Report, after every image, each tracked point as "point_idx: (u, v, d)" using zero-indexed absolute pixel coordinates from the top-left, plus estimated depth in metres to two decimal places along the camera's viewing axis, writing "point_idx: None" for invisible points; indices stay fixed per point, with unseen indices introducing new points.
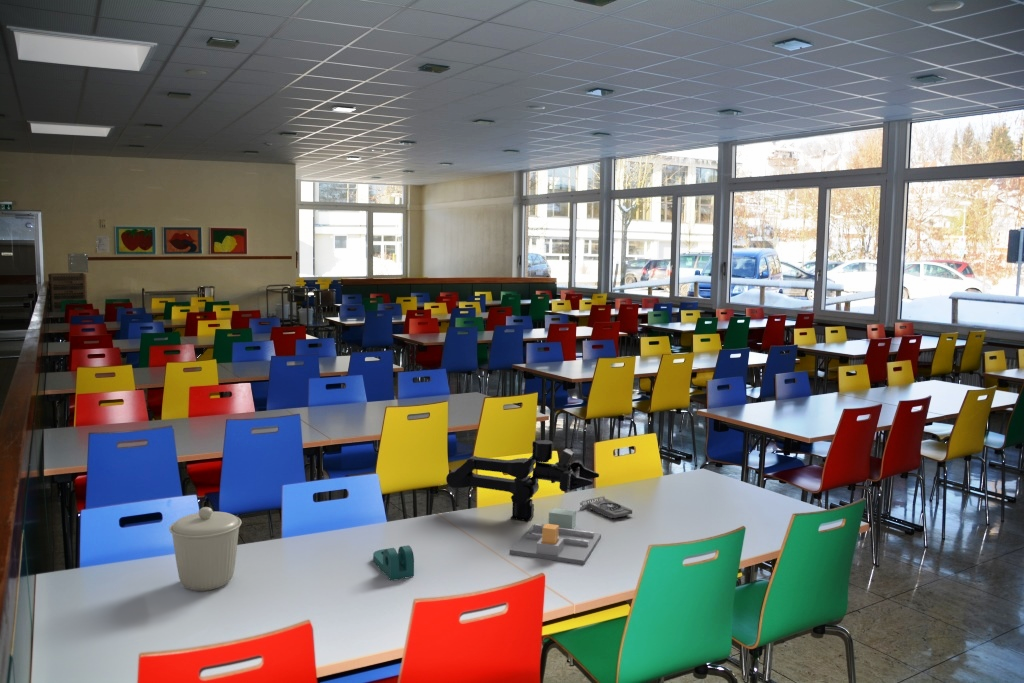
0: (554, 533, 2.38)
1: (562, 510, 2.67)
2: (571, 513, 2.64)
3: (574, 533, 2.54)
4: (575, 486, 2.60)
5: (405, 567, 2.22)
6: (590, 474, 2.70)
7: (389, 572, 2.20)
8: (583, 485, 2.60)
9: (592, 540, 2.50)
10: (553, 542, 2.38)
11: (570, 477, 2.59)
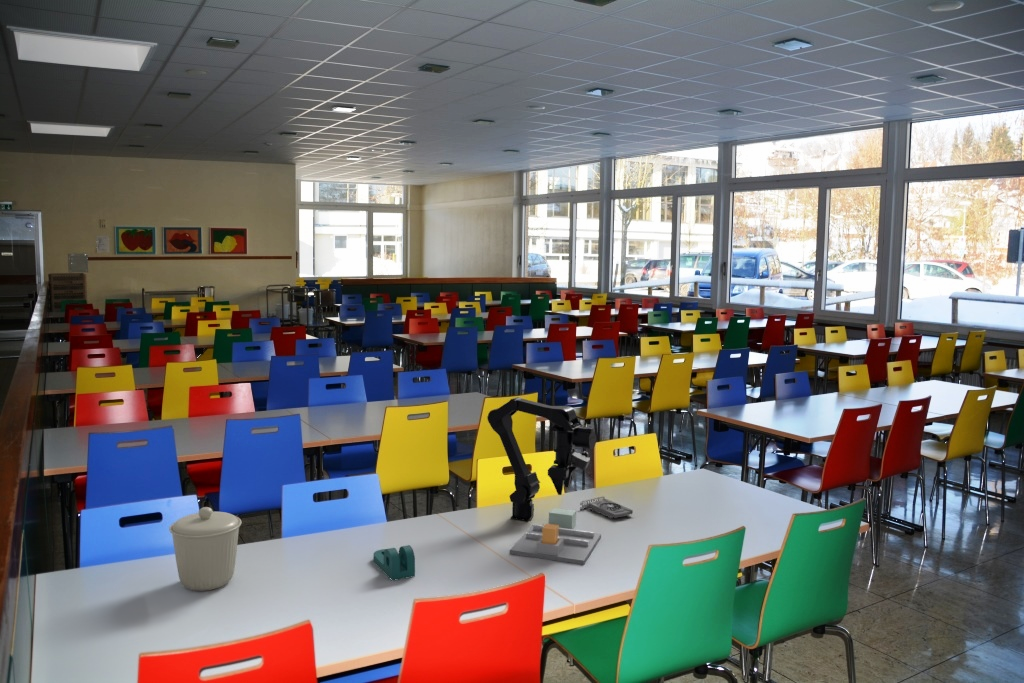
0: (554, 533, 2.38)
1: (562, 510, 2.67)
2: (571, 513, 2.64)
3: (574, 533, 2.54)
4: (553, 479, 2.59)
5: (406, 567, 2.22)
6: (566, 478, 2.69)
7: (390, 572, 2.20)
8: (555, 486, 2.60)
9: (592, 540, 2.50)
10: (553, 542, 2.38)
11: (562, 477, 2.56)
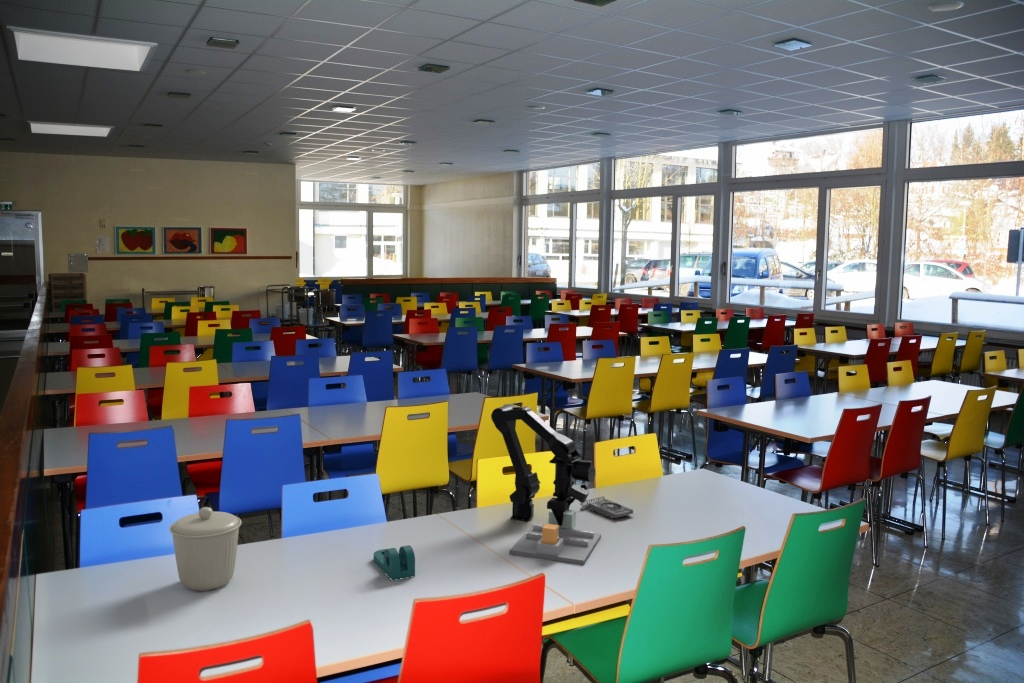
0: (554, 533, 2.38)
1: None
2: (571, 513, 2.64)
3: (574, 533, 2.54)
4: (554, 510, 2.62)
5: (406, 567, 2.22)
6: None
7: (390, 572, 2.20)
8: (556, 517, 2.63)
9: (592, 540, 2.50)
10: (553, 542, 2.38)
11: None
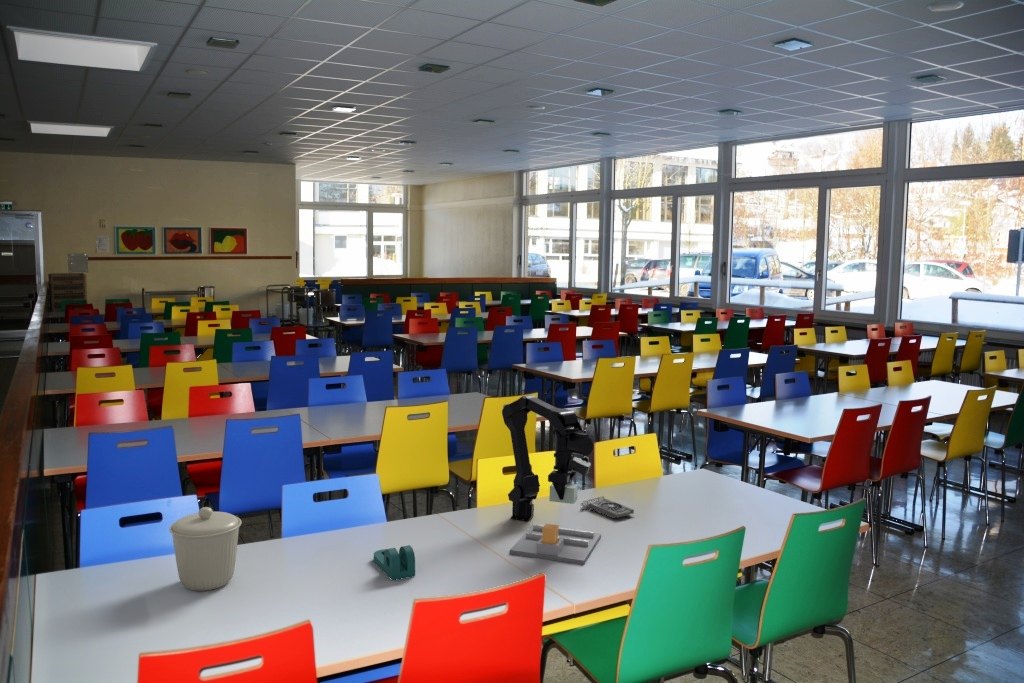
0: (554, 533, 2.38)
1: None
2: (573, 486, 2.55)
3: (574, 533, 2.54)
4: (555, 484, 2.53)
5: (406, 567, 2.22)
6: None
7: (390, 572, 2.20)
8: (557, 491, 2.54)
9: (592, 540, 2.50)
10: (553, 542, 2.38)
11: None
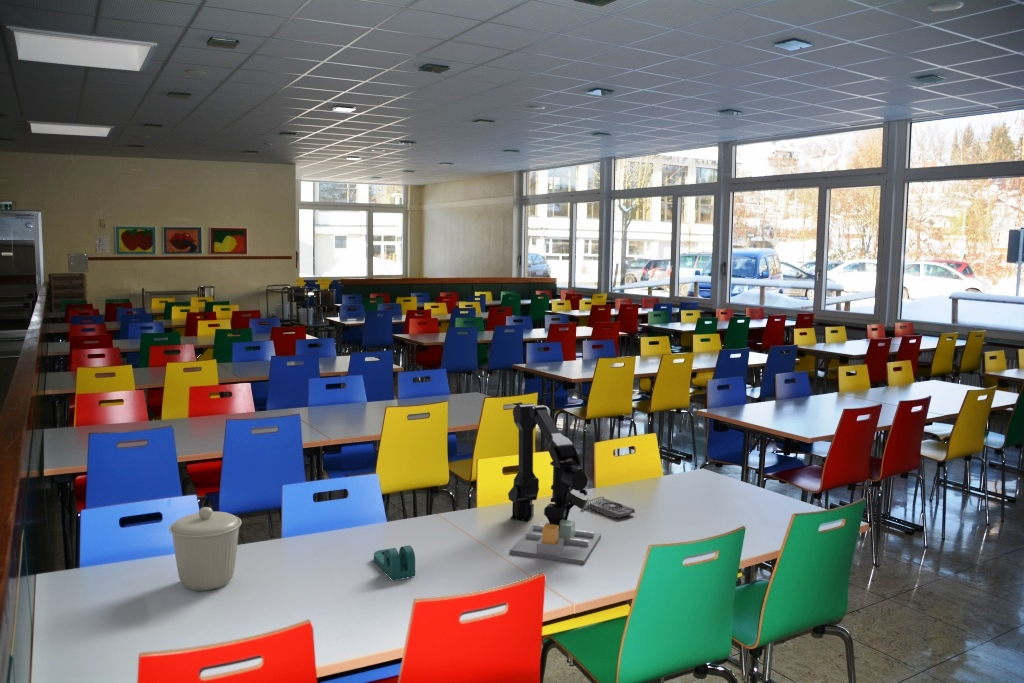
0: (554, 533, 2.38)
1: None
2: (570, 524, 2.50)
3: None
4: (550, 519, 2.46)
5: (406, 567, 2.22)
6: (564, 516, 2.56)
7: (390, 572, 2.20)
8: None
9: (592, 540, 2.50)
10: (553, 542, 2.38)
11: (559, 517, 2.43)
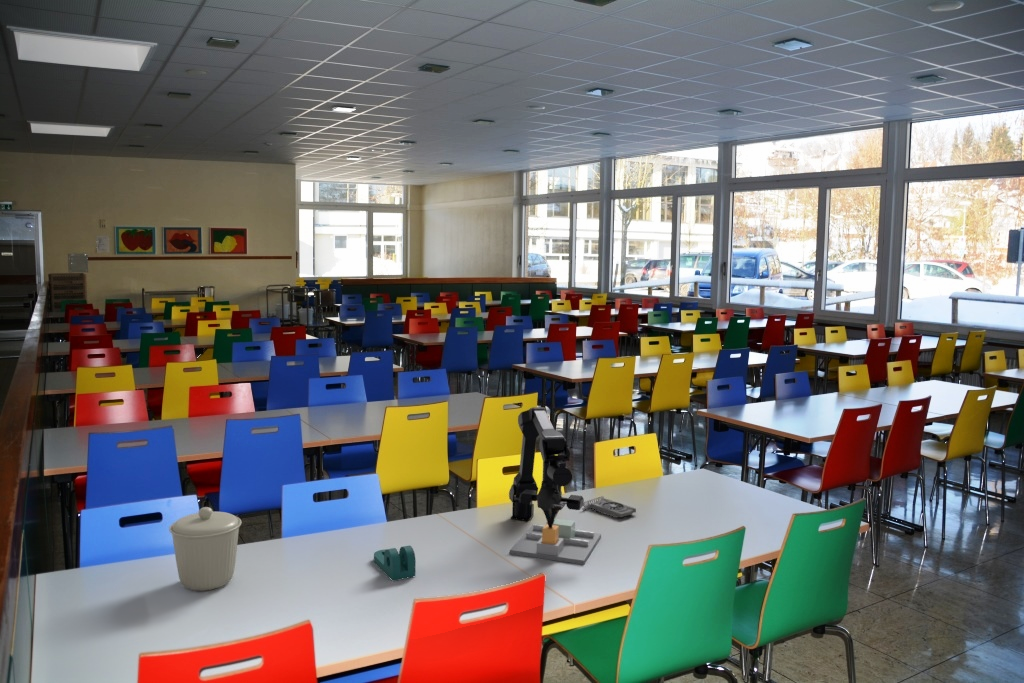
0: (554, 534, 2.38)
1: (560, 520, 2.53)
2: (570, 524, 2.50)
3: None
4: None
5: (406, 567, 2.22)
6: None
7: (391, 572, 2.20)
8: None
9: (592, 540, 2.50)
10: (553, 543, 2.38)
11: None
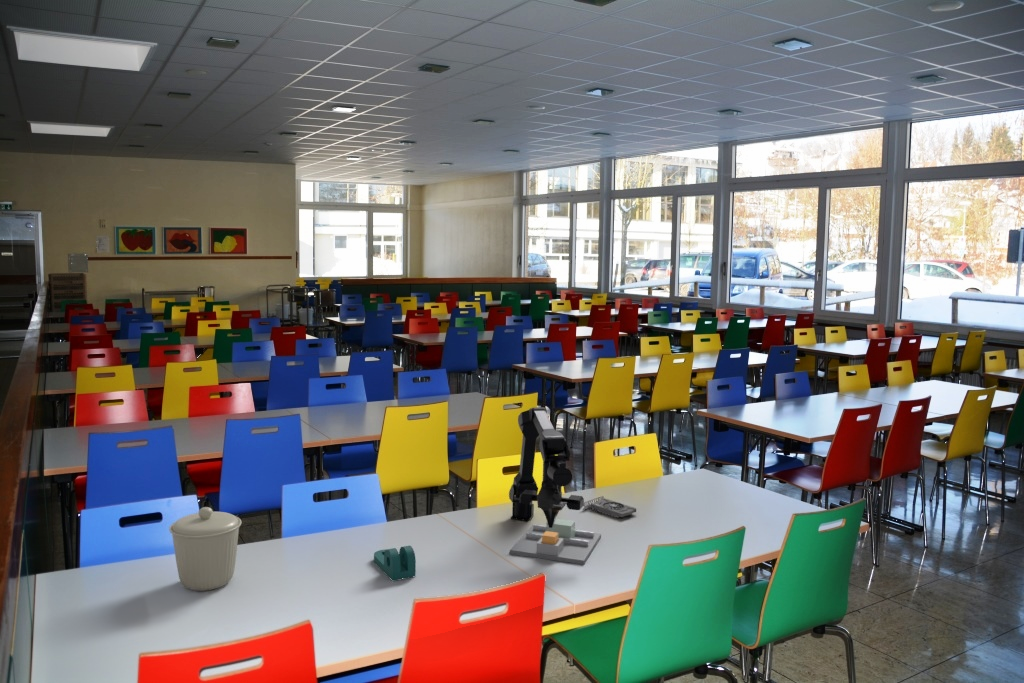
0: (554, 541, 2.38)
1: (560, 520, 2.53)
2: (570, 524, 2.50)
3: None
4: None
5: (407, 567, 2.22)
6: None
7: (391, 572, 2.20)
8: None
9: (592, 540, 2.50)
10: None
11: None
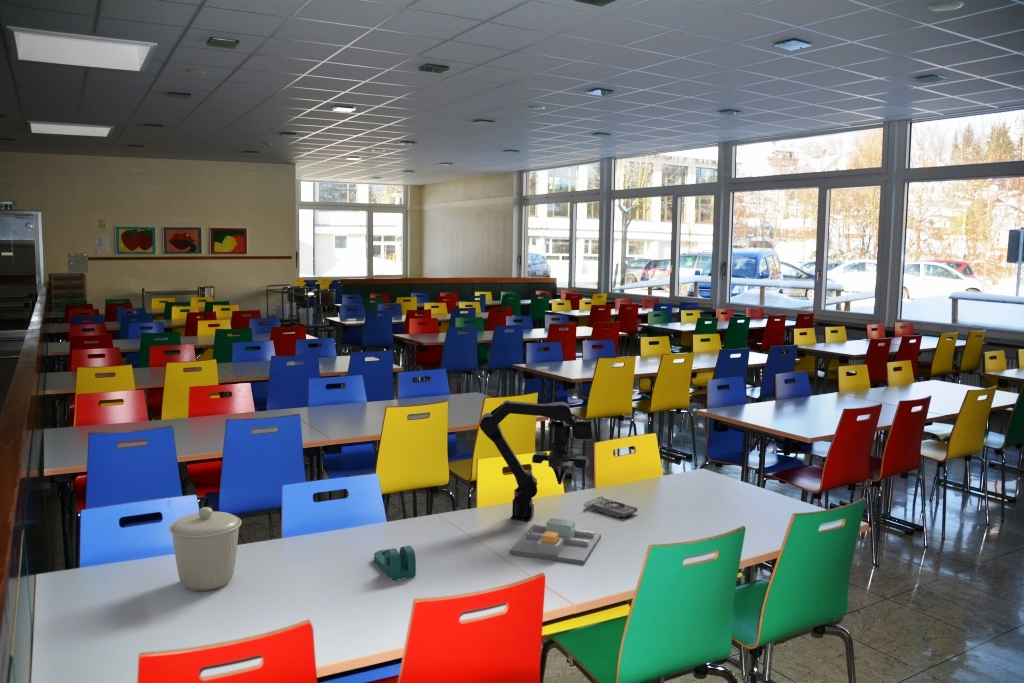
0: (554, 541, 2.38)
1: (560, 520, 2.53)
2: (570, 524, 2.50)
3: None
4: None
5: (407, 567, 2.22)
6: None
7: (391, 573, 2.20)
8: None
9: (592, 540, 2.50)
10: None
11: None
